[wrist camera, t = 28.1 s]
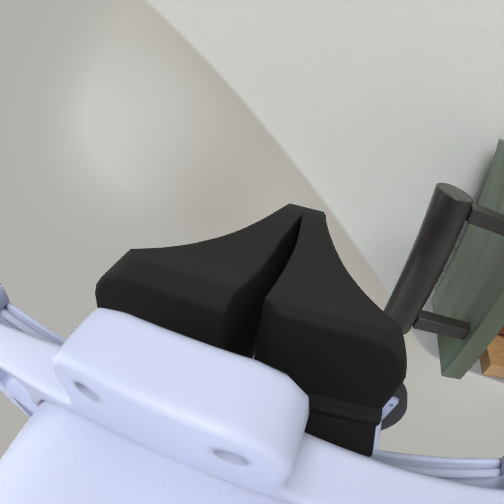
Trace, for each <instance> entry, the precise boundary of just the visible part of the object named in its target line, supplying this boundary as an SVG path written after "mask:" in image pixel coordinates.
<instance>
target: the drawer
mask: <svg viewBox="0 0 504 504" xmlns="http://www.w3.org/2000/svg"><path fill="white" fill-rule="evenodd" d="M465 221H467V223H469V225H468V227H467V230H466V232H465V234H464V237H463V239H462V241H461V243H460V245H459V247H458V250H457V252H456V254H455V256H454V258H453V260H452V262H451V264H450V266H449V268H448V270H447V272H446V274H445V276H444V278H443V280H442V282H441V284H440V285H439V287H438V289H437V291H436V293H435V295H434V297H433V298H432V305H433V311H434V313H431V312H428V311H424V310H422V308H423V307H424V305H425V303H426V301H427V299H428V298H429V296H430V294H431V292H432V290H433V288H434V286H435V284H436V283H437V281H438V279H439V277H440V275H441V273H442V271H443V269H444V267H445V265H446V263H447V261H448V259H449V257H450V254H451V252H452V250H453V248H454V246H455V244H456V242H457V239H458V237H459V235H460V233H461V230H462V228H463V226H464V223H465ZM384 312H385V313H386V314H387V315H388V316H390V317H391V318H392V319H393V320H395V321H396V322H397V323H398V324H399V325H401V327H402V332H403V334H406V333H408V332H409V330H410V329H411V327H412V325H413V328H415V329H420V330H424V331H428V332H432V333H436V334H437V338H438V346H439V354H440V364H441V374H442V376H445V377H450V378H456V379H461V378H462V377H463V376H464V375H465V373H466V372H467V371H468V370H469V369H470V368H471V367H472V365H473V364H474V363H475V362H476V361H477V359H478V358H480V363H481V369H482V374H483V375H487V376H493V377H499V378H504V335H503V334H499V331H500V330H501V328H502V327H503V326H504V140H502V139H499V142H498V145H497V149H496V152H495V155H494V158H493V161H492V164H491V167H490V170H489V173H488V176H487V179H486V182H485V185H484V187H483V190H482V193H481V196H480V198H479V201H478V203H477V204H476V203H473V200H472V198H471V197H470V196H469V195H468V194H467V193H465V192H464V191H462V190H461V189H459V188H457V187H455V186H452V185H450V184H446V183H437V184H436V187H435V190H434V193H433V196H432V199H431V201H430V204H429V207H428V210H427V212H426V215H425V218H424V220H423V223H422V226H421V228H420V231H419V233H418V236H417V238H416V241H415V243H414V245H413V248H412V250H411V253H410V255H409V257H408V260H407V262H406V264H405V267H404V269H403V271H402V273H401V276H400V278H399V280H398V282H397V284H396V286H395V289H394V291H393V293H392V295H391V297H390V299H389V301H388V303H387V305H386V307H385V309H384Z"/></svg>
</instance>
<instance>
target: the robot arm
mask: <svg viewBox="0 0 504 504" xmlns="http://www.w3.org/2000/svg"><path fill="white" fill-rule="evenodd" d="M95 295H96V301H97V306H98V309H97V310H95V311H94V312H92V313H91V314H90V315H88V316H87V317H86V319H85V320H84V321H83V322H82V323H81V324H80V325H79V327H77V329H76V330H75V331H74V332H73V333H72V334H71V335H70V337H69V338H68V339H66V338H65V337H63V336H61V335H60V334H58V333H56V332H55V331H52V330H51V329H50V328H48V327H46V326H45V325H43V324H42V323H40V322H38V321H37V320H35V319H34V318H32V317H31V316H29V315H28V314H26V313H25V312H23V311H22V310H20V309H19V308H17V307H16V306H14V305H13V304H11V303H10V302H9V299H8V296H7V294H6V291H5V290H4V288H3V287H2V285H1V284H0V390H1V391H2V392H3V393H4V394H5V395H6V396H7V397H8V398H9V399H10V400H11V401H12V402H13V403H14V404H16V405H17V406H18V407H19V408H20V409H21V410H22V411H23V412H25V413H26V414H27V415H28V416H29V417H30V419H29V420H28V421H27V423H26V424H25V426H24V427H23V428H22V430H21V431H20V433H19V434H18V435H17V437H16V438H15V439H14V441H13V442H12V444H11V445H10V447H9V448H8V449H7V451H6V452H5V454H4V455H3V457H2V458H1V460H0V504H504V456H503V457H502V458H494V459H475V458H449V457H434V456H422V455H413V454H404V453H395V452H388V451H381V450H378V448H379V440H380V431H381V422H382V420H383V419H384V418H385V417H386V416H387V415H388V414H389V413H390V411H391V410H392V409H393V408H394V407H395V406H396V405H397V404H398V401H399V399H398V398H397V397H393V395H394V394H395V393H396V391H397V390H398V389H399V388H400V386H401V385H402V383H403V381H404V379H405V377H406V369H407V360H406V359H407V357H406V348H405V341H404V337H403V332H402V327H401V325H399V324H398V323H397V322H396V321H395V320H393V319H392V318H391V317H390V316H388V315H387V314H386V313H385V312H384V311H382V310H381V309H380V308H379V307H378V306H377V305H376V304H375V303H374V302H373V301H371V299H370V298H369V297H368V296H367V295H366V294H365V293H364V292H363V291H362V290H361V288H360V287H359V286H358V285H357V283H356V282H355V281H354V280H353V279H352V277H351V276H350V274H349V273H348V272H347V270H346V268H345V267H344V265H343V263H342V262H341V260H340V258H339V256H338V253H337V251H336V249H335V247H334V245H333V242H332V239H331V237H330V234H329V231H328V227H327V223H326V215H325V214H324V212H321V211H318V210H314V209H309V208H306V207H302V206H298V205H294V204H288V205H286V206H284V207H283V208H281V209H279V210H278V211H276V212H274V213H273V214H271V215H269V216H268V217H266V218H264V219H262V220H260V221H259V222H256V223H254V224H252V225H250V226H248V227H246V228H244V229H241V230H239V231H236V232H234V233H231V234H228V235H225V236H222V237H218V238H214V239H210V240H206V241H202V242H198V243H193V244H188V245H182V246H173V247H165V248H146V249H130V250H129V251H128V252H127V253H126V254H125V255H124V256H123V257H122V258H121V259H120V260H119V261H118V262H117V263H115V264H114V265H113V266H112V267H111V268H110V269H109V270H108V271H107V272H106V273H105V274H104V275H103V276H102V277H101V278H100V280H99V281H98V283H97V284H96V291H95ZM254 354H255V355H254ZM253 357H254V359H253Z"/></svg>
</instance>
